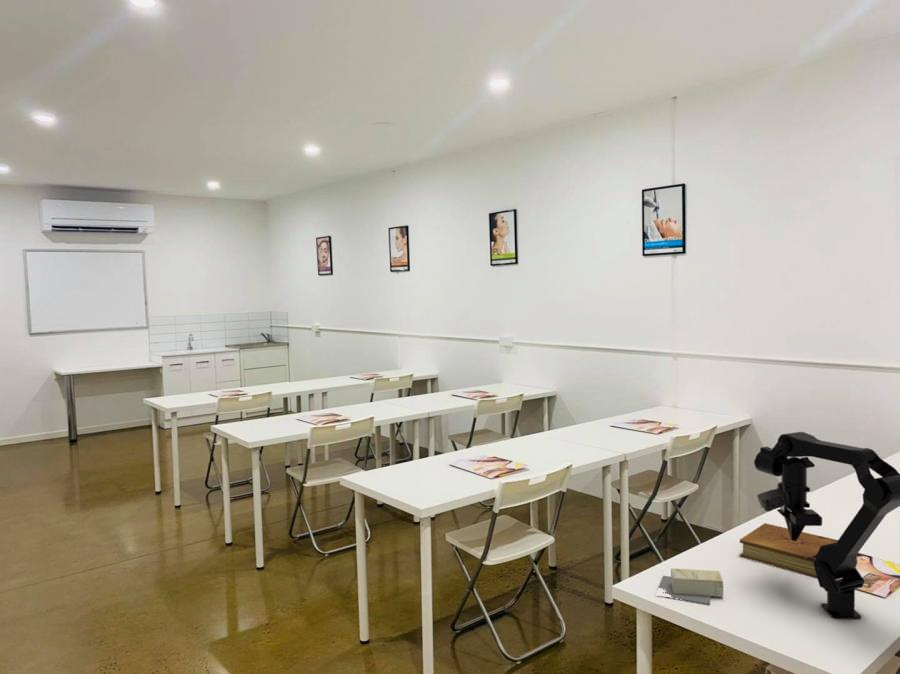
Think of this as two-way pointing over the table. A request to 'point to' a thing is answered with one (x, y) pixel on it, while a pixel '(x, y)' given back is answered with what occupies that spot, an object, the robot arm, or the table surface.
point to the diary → (783, 548)
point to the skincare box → (696, 582)
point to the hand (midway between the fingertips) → (793, 540)
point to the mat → (667, 586)
